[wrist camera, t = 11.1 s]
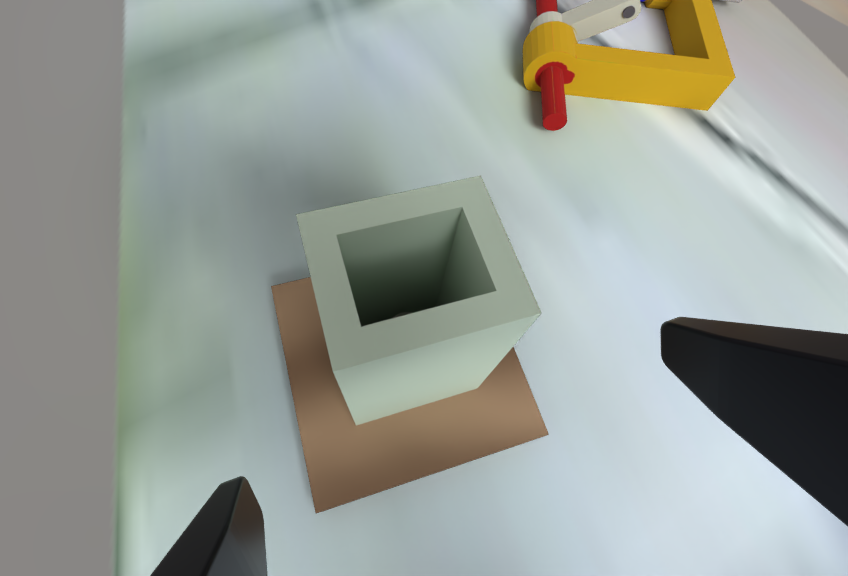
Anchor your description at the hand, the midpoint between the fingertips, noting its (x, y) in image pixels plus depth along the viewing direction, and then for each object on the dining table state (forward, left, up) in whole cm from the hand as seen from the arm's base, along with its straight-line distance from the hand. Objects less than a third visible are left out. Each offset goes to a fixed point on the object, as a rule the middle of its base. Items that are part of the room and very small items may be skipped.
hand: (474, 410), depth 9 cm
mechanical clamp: (+20, -33, -14) cm, 41 cm away
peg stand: (+4, -2, -14) cm, 14 cm away
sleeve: (+4, -2, -13) cm, 13 cm away
